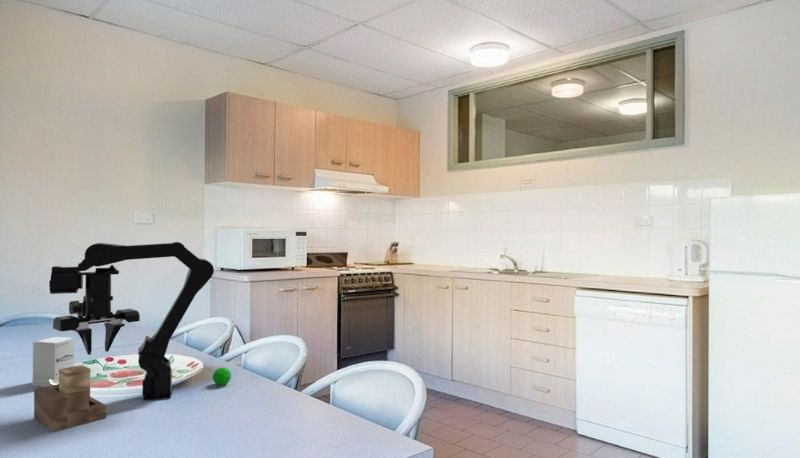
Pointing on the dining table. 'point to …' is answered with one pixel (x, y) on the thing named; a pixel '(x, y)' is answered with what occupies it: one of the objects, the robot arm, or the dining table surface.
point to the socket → (65, 408)
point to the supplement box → (51, 359)
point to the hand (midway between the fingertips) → (98, 352)
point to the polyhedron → (221, 376)
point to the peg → (74, 379)
